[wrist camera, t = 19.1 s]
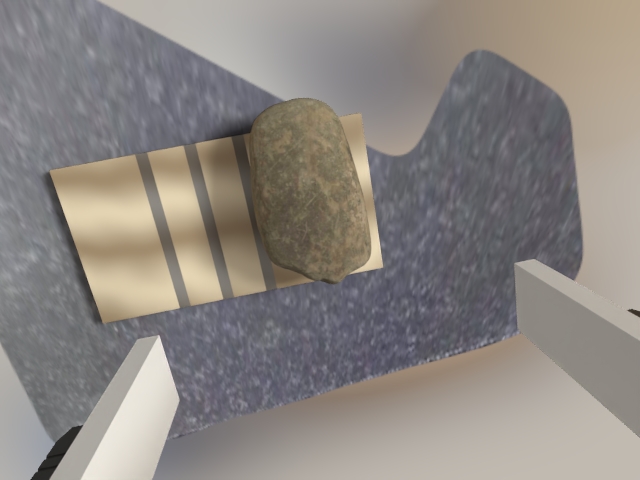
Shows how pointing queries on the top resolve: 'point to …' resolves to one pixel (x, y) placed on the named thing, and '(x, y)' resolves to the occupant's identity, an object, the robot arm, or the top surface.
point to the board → (181, 225)
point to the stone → (308, 191)
